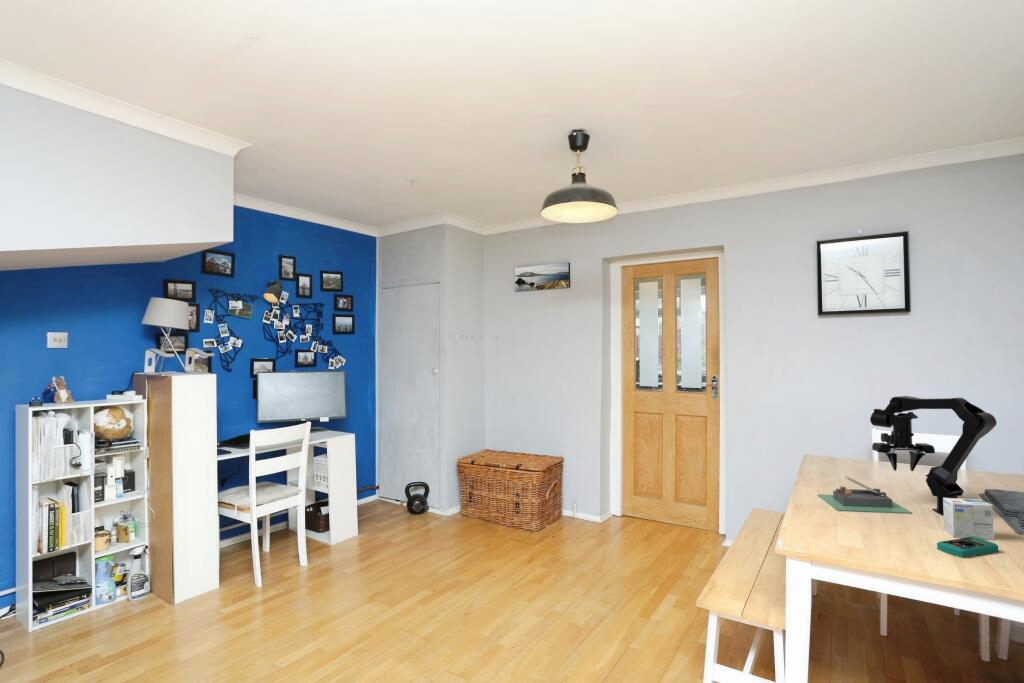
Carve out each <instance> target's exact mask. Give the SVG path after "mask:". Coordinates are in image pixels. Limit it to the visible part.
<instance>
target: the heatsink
mask: <svg viewBox="0 0 1024 683" xmlns="http://www.w3.org/2000/svg"><path fill="white" fill-rule="evenodd" d="M872 489H873V490H875V491H877V492H879V495H878V494H876V493H874V492H872V491H870V490H868V489H859V488H858V489H857V488H855V489H854V488H846V486H839V488H836V489H835V490H833V491H832V495H833V498H834V499H835V500H836V501H838V502H839V503H840V504H842V505H843V506H854V507H882V508H892V501H893V499H892V498H890V497H889V496H887V492H885V491H881V489H880V488H872Z"/></svg>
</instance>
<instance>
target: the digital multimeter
mask: <svg viewBox="0 0 1024 683" xmlns="http://www.w3.org/2000/svg"><path fill="white" fill-rule="evenodd" d="M936 550H938V551H941V552H943V553H944V554H945V553H946V554H948V555H952V556H955V557H957V556H958V557H959V558H961V557H962V559H966V557H967V558H971V557H975V556H976V557H977V556H980V555H981V556H982V555H986V554H994V553H998V552H999V545H998V544H997V543H995V542H992V541H989V540H988V539H980V538H976V537H972V536H971V537H966V538H965V537H959V538H956V539H950V540H942V541H941V540H940V541H938V542H936Z"/></svg>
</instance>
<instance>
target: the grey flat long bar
mask: <svg viewBox="0 0 1024 683" xmlns="http://www.w3.org/2000/svg"><path fill="white" fill-rule="evenodd" d="M844 479H847V480H848V481H850V482H852V483H854V484H857V485H858V486H860V487H862V488H864V489H865V490H870V491H872V492H874V493H876V494H878V495H879V492H877V491H875V490H873V489H874V488H872V487H869V486H867V485H865V484H863V483H861V482H859V481H857V480H855V479H853V478H851V477H849V476H847V475H845V476H844Z"/></svg>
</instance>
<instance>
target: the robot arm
mask: <svg viewBox="0 0 1024 683" xmlns="http://www.w3.org/2000/svg"><path fill="white" fill-rule="evenodd" d="M916 410H952V411H953V412H954V413H955V414H956V416H957V417H958V418H959V419H960V420H961V421H962V422H963V424H962V433H961V435H960V437H959V438H958V439H957V441H956V443H955V444H954V445H953V447H952V449H951V450H950V452H949V453H948V456H947V457H946V458H945V460H944V461H943V463H942V464H941V465H937V466H933V467H931V468H930V470H929V472H928V473H927V474H926V475H925V483H926V485H927V487H928V488H929V490H930V493H931V494H932V497H933V496H934V497H936V508H932V511H934V512H936V513H937V514H939V515H941V516H944V510H943V498H958V497H962V496H963V494H964V492H965V491H964V489H963V488H961V486H960V485H959V484H958V483H957V481H958V472H959V470H960V468H961V467H962V465H963V464H964V463H965V461H966V459H967V458H968V456H969V455H970V453H972V451H973V449H974V448H975V446H976V445H977V443H978V442H979V440H981V439H982V438H983V437H985V436H986V435H987V434H989V433H990V432H991V431H993V429H994V428H995V427H997V419H996V417H995V416H994V415H993V414H991V413H989V412H986V411H985V410H983V409H982V408H981V407H978V406H977V405H974V404H973V403H971V402H970V401H969V400H967V399H965V398H963V397H953V398H951V397H950V398H949V397H948V398H947V397H946V398H944V397H943V398H942V397H941V398H919V397H915V396H909V395H903V396H893V397H891V399H889V404H888V405H887V406H886V407H885V408H884V409H881V408H874V409H873V412H872V414H871V415H870V417H869V420H870V421H869V422H870V423H871V425H873V426H874V427H882V428H892V430H891V432H890V433H891V434H889V433H888V432H887V433H886V432H884V433H883V432H881V433H880V441H881V442H873V443H872V445H871V450H873V451H875V452H876V453H883V454H885V455H886V456H887V458H888V460H889V462H890V465H891V467H892V470H893V471H895V472H896V471H897V468H898V467H897V466H898V454H897V453H896V452H895V451H908V453H909V455H910V458H909V459H910V461H909V463H910V464H909V466H910V467H909V468H910V471H911V472H914V470H915V469H916V466H918V463H919V462H920V460H921V459H922V458H923V457H925V456H926V454H936V451H935V450H936V449H935V447H934V445H931V444H929V443H926V442H925V443H924V442H923V443H922V442H918V443H917V442H916V443H915V444H913V437H914V433H913V431H912V430H913V429H912V428H913V427H912V424H913V423H912V422H913V420H914V419H918V418H919V416H918V415H916V414H915V413H914V412H913V411H916ZM903 412H905V413H903ZM906 412H907V413H906Z"/></svg>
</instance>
